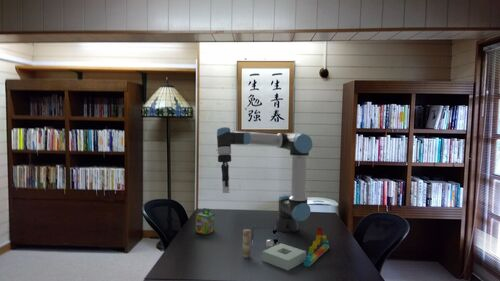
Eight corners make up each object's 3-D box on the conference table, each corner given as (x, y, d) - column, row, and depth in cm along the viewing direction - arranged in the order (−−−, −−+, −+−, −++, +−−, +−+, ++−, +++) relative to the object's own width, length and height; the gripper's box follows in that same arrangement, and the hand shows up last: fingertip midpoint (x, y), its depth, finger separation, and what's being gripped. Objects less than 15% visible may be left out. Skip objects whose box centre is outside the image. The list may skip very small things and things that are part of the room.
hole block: (280, 252, 184) (281, 243, 184) (305, 260, 173) (306, 251, 173) (262, 260, 172) (262, 251, 172) (287, 270, 161) (288, 260, 161)
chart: (309, 267, 166) (310, 237, 166) (303, 265, 168) (304, 236, 167) (329, 248, 192) (330, 222, 191) (324, 247, 194) (325, 221, 193)
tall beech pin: (246, 254, 179) (246, 228, 179) (251, 256, 177) (252, 230, 176) (240, 256, 176) (241, 230, 176) (246, 258, 174) (247, 232, 173)
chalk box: (195, 232, 211) (195, 209, 210) (202, 228, 220) (202, 206, 219) (207, 235, 208) (208, 211, 207) (214, 230, 216) (215, 208, 215)
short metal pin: (269, 247, 191) (269, 238, 190) (274, 249, 188) (274, 240, 188) (264, 249, 188) (264, 240, 187) (270, 251, 185) (270, 242, 185)
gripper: (216, 157, 200) (218, 193, 197) (218, 152, 175) (220, 193, 172) (229, 156, 201) (230, 192, 198) (232, 152, 177) (234, 192, 173)
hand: (225, 193), depth 185 cm, fingers open, 13 cm apart
